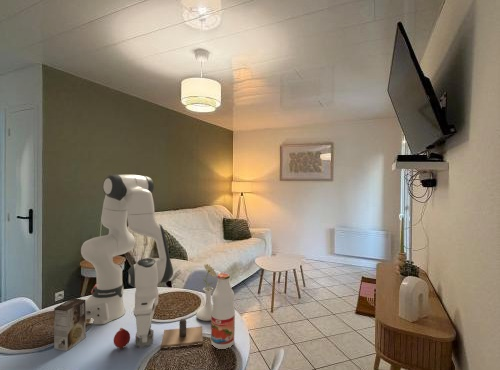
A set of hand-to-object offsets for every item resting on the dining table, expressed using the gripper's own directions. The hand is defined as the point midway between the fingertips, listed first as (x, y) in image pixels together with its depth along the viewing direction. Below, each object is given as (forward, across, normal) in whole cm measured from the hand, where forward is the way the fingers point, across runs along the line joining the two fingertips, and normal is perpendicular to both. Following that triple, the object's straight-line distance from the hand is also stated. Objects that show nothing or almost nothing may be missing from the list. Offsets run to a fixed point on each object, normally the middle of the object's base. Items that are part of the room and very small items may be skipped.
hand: (146, 334), depth 107 cm
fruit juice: (+4, +7, +30) cm, 31 cm away
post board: (+4, 0, +14) cm, 15 cm away
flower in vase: (+4, -16, +25) cm, 31 cm away
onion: (+3, +2, -9) cm, 10 cm away
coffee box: (+3, -6, -30) cm, 30 cm away
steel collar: (+3, 0, -1) cm, 3 cm away
